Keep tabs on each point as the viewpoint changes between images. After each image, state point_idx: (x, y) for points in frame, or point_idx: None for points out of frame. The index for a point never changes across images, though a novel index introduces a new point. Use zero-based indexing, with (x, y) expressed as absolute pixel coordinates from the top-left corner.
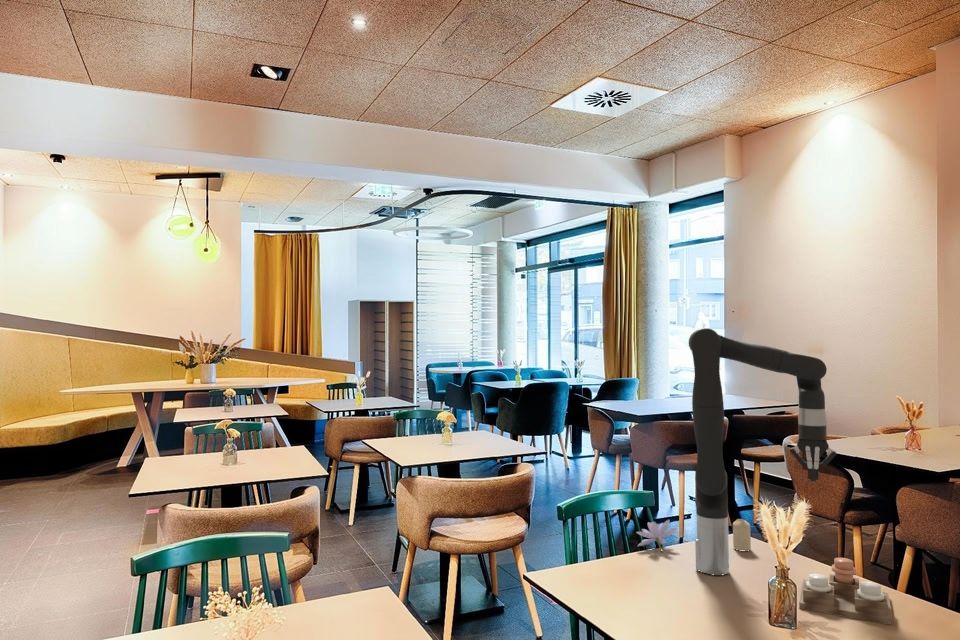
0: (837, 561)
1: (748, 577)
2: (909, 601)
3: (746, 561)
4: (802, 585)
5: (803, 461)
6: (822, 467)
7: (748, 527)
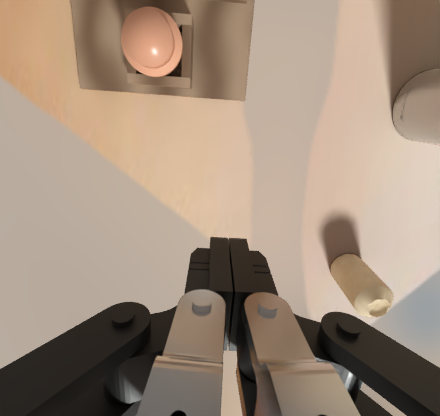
0: (162, 17)
1: (353, 96)
2: (47, 89)
3: (345, 199)
4: (248, 53)
5: (361, 358)
6: (134, 304)
7: (358, 290)
